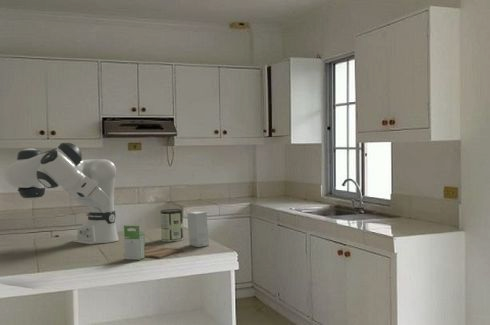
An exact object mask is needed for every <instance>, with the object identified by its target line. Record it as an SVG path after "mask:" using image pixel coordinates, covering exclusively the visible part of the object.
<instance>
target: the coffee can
mask: <svg viewBox="0 0 490 325" xmlns="http://www.w3.org/2000/svg"><path fill="white" fill-rule="evenodd" d="M159 212H160V228H161V241H162V242H165V243H166V242H167V243H168V242H169V243H170V242H172V243H173V241H174V242H181V241H183V240H184V227H183V224H184V223H183V209H182V208H167V209H162V210H160V211H159Z"/></svg>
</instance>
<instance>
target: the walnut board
mask: <svg viewBox="0 0 490 325" xmlns="http://www.w3.org/2000/svg"><path fill="white" fill-rule="evenodd" d="M182 252H184V248H175V247H174V248H172V247H161V246H146V247H145V258H151V259H163V258H167V257H169V256H172V255H175V254H178V253H179V254H180V253H182ZM124 255H125V252H124Z"/></svg>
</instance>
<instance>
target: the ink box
mask: <svg viewBox="0 0 490 325" xmlns="http://www.w3.org/2000/svg"><path fill="white" fill-rule="evenodd" d="M129 229H134V230H129ZM123 233H124V234H123V239H124V240H123V242H124V245H123V246H124V253H125V254H124V260H130V261H131V260H132V261H133V260H134V261H141V260H144V259H146V257H145V246H146V245H145V233H140V225H123Z"/></svg>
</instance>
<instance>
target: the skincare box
mask: <svg viewBox="0 0 490 325" xmlns="http://www.w3.org/2000/svg"><path fill="white" fill-rule="evenodd" d="M207 215H208V214H207V211H199V210H198V211H190V212H187V228H188V229H187V230H188V242H189V243H188V244H189V246H192V247H196V248H200V247H208V246H210V245H209V242H210V241H209V227H208V216H207Z"/></svg>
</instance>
